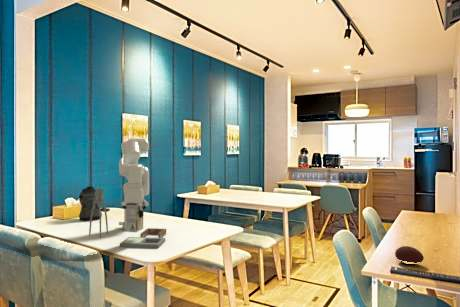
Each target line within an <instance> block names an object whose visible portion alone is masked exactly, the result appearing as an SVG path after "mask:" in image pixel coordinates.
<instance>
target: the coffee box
mask: <svg viewBox="0 0 460 307" xmlns="http://www.w3.org/2000/svg"><path fill="white" fill-rule="evenodd" d="M140 211H141V210H140V208H139V206H138V204H135V203H127V204H126V230H125V232H126V233H137V232H140V231H142V230H144V216H143V217H142V218H140Z"/></svg>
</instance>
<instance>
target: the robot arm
mask: <svg viewBox="0 0 460 307" xmlns="http://www.w3.org/2000/svg"><path fill="white" fill-rule="evenodd" d="M120 147H121V148H120V149H121V152H122V155H123V156H121V158H120V159H119V162H118V171H119V175H120V176H121V177H125V179H126V180H127V182H126V183H124V184H123V186H122V191H123V201H121V203H120V205H121V206H122V207H123V208H124V212H123V213H124V216H123V217H124V221H119V222H118V225H119V226H121V229H122V230H124V231H126V204H127V203H135V204H138V206H139V208H140V210H141V211H140V218H142V217H143V218H144V210H145V209H146V208H147V207H148V206H149V205H150V204H149V202H148V201H147V200H145V197H147V196H148V195H149V194H150V170H149V168H148V167H147V166H144V165H143V164H141V163H139V160H140V158H141V154H147V153H148V152H149V149H150V143H149V140H148V139H146V138H129V139H128V140H125V141H123V142H121V146H120Z"/></svg>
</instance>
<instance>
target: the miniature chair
mask: <svg viewBox="0 0 460 307" xmlns="http://www.w3.org/2000/svg"><path fill="white" fill-rule="evenodd" d="M95 190H96V191H95V197H96V200H94V203H93V207H92V212H91V218H90V221H89V234H88V236H91V232H92V222H93V221H92V216H93V211H94V207H95V203H97V204H98V207H99V209H100V220H99V238H100V239H101V238H102V216H101V213H102V210H101V209H102V208H101V207H102V206H101V205H103V209H104V216H105V226H106V227H105V229H106V230H105V231H106V234H109V226H108V225H109V224H108V214H107V213H108V212H107V208H106V202H105V199H104V189H103V188H102V187H97V188H96V189H95Z"/></svg>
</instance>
